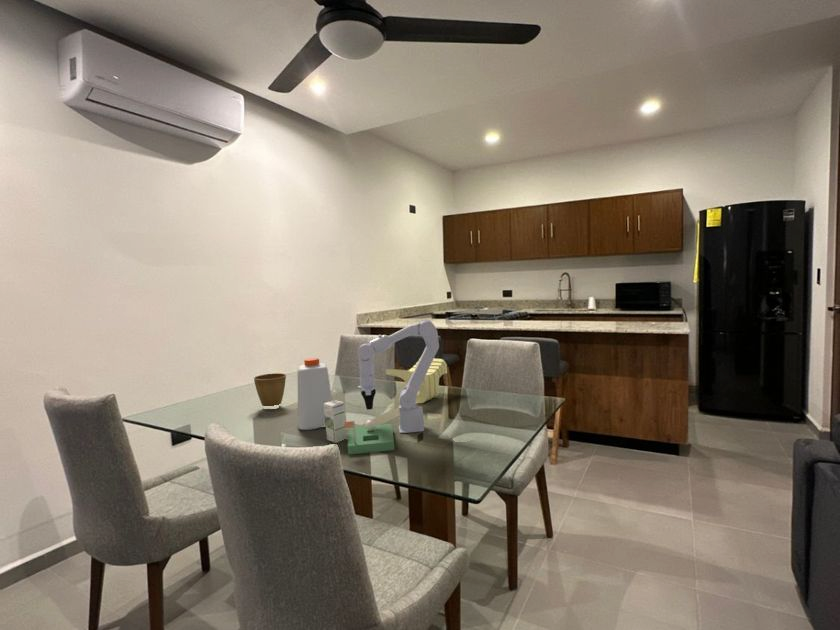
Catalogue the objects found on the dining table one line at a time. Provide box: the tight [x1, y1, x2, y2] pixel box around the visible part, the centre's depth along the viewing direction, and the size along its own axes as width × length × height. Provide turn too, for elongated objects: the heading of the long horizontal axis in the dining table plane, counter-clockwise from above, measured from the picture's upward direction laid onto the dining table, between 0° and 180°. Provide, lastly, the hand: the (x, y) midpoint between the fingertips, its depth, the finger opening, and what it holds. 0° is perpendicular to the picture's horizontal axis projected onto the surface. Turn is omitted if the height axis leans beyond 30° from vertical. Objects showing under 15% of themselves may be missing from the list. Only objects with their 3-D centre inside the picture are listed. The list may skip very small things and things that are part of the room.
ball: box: [364, 419, 377, 431], centre depth 168 cm, size 4×4×4 cm
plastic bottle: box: [297, 357, 333, 431], centre depth 188 cm, size 15×15×28 cm
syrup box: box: [324, 400, 348, 444], centre depth 168 cm, size 6×6×14 cm
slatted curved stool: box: [385, 357, 448, 404], centre depth 219 cm, size 30×16×18 cm, turn 147°
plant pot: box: [253, 372, 287, 407], centre depth 218 cm, size 15×15×16 cm
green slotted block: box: [344, 420, 396, 456], centre depth 163 cm, size 17×20×11 cm
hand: (369, 408), depth 174 cm, fingers closed
